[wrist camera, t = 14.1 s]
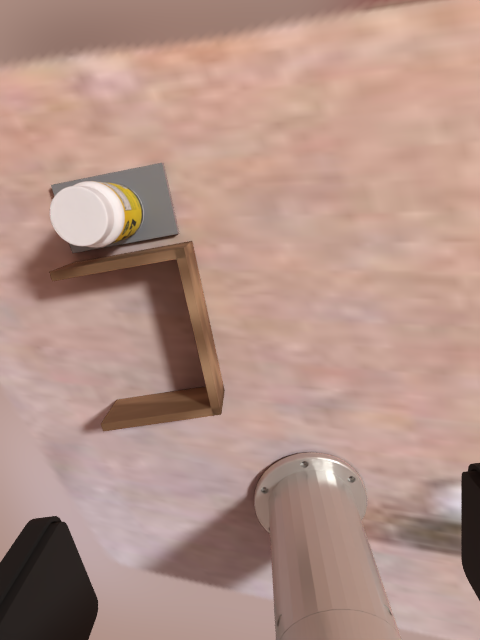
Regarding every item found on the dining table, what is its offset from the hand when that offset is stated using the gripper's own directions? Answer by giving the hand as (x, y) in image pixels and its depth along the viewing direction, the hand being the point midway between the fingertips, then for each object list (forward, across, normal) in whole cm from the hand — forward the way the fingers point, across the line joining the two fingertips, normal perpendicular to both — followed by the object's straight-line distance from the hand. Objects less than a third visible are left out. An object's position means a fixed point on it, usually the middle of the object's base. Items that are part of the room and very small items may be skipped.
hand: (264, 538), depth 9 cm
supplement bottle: (+28, +11, -8) cm, 31 cm away
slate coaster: (+28, +11, -8) cm, 32 cm away
